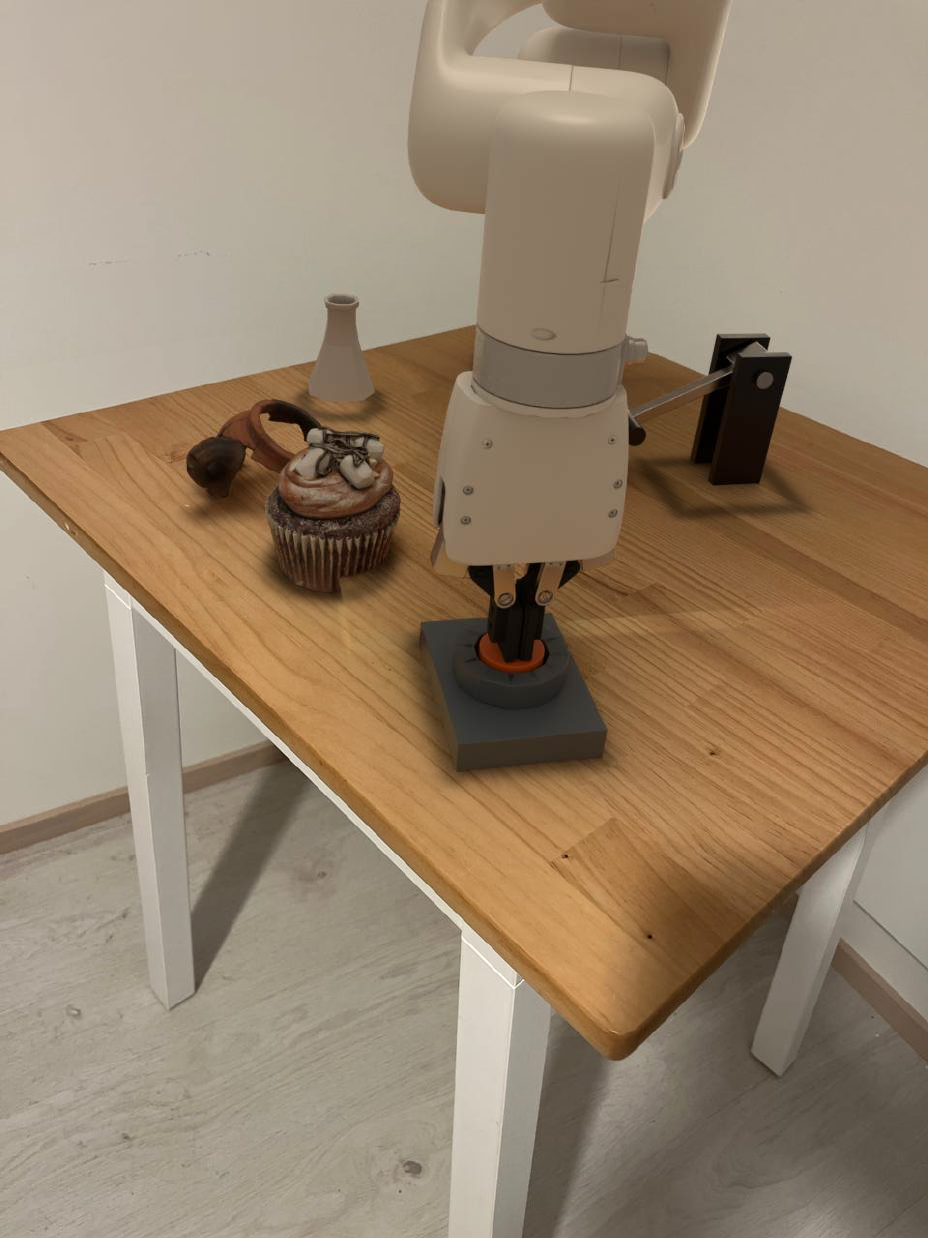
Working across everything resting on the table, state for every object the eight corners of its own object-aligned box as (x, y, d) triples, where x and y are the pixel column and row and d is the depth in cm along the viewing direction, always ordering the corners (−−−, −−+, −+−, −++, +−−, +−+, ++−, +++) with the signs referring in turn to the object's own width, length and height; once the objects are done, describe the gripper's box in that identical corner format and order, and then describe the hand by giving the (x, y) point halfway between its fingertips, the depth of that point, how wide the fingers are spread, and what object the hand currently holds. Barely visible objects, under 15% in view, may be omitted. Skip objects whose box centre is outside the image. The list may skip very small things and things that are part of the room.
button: (471, 652, 68) (473, 629, 67) (532, 647, 69) (535, 625, 68) (485, 692, 65) (487, 669, 64) (549, 686, 65) (552, 664, 64)
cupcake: (275, 526, 83) (271, 406, 77) (400, 532, 84) (405, 414, 78) (257, 596, 75) (251, 468, 70) (396, 603, 76) (401, 477, 70)
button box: (419, 647, 72) (422, 598, 69) (547, 638, 74) (554, 590, 71) (455, 772, 62) (460, 720, 60) (602, 757, 64) (612, 706, 62)
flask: (313, 382, 106) (312, 281, 100) (385, 391, 105) (388, 290, 99) (294, 413, 100) (291, 307, 94) (370, 422, 99) (372, 317, 93)
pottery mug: (254, 454, 93) (299, 384, 89) (315, 535, 91) (364, 468, 87) (142, 466, 84) (185, 389, 79) (207, 557, 82) (256, 483, 77)
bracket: (681, 513, 89) (713, 368, 82) (644, 463, 96) (670, 324, 89) (801, 507, 92) (842, 365, 84) (756, 458, 99) (791, 323, 91)
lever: (630, 453, 87) (622, 428, 85) (609, 423, 91) (601, 399, 90) (782, 384, 86) (777, 359, 85) (753, 358, 90) (748, 333, 89)
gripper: (657, 333, 59) (608, 605, 70) (390, 336, 56) (381, 620, 67) (710, 388, 54) (648, 676, 64) (415, 395, 50) (401, 697, 61)
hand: (512, 647), depth 65 cm, fingers closed
